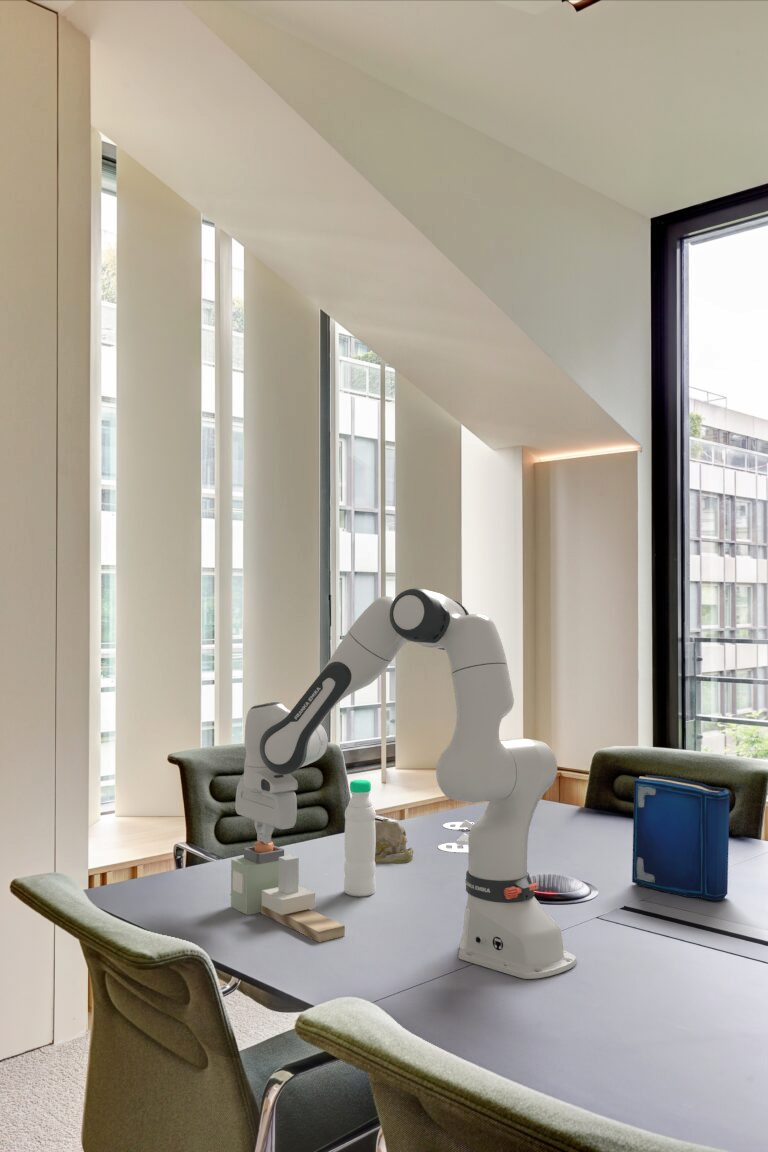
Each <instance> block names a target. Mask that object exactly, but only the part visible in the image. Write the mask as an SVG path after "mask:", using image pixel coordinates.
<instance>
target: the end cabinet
mask: <svg viewBox="0 0 768 1152" xmlns="http://www.w3.org/2000/svg"><path fill="white" fill-rule="evenodd" d="M288 855H290V854H289V853H286V852H285V848H282V847H280V846H277V845H274V844H273V851H271V852H265V853H257V852H255V845H254V846H247V847H244V848H243V857H237V858H231V859H230V861H231V862H230V870H231V871H230V907H231V908H233V909H235V910H236V911H239V912H241V913H243V914H245V915H247V916H249V915H254V914H257V913H261V903H262V890H266V889H271V888H276V887H278V875H279V857H282V856H288Z"/></svg>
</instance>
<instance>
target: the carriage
mask: <svg viewBox="0 0 768 1152" xmlns="http://www.w3.org/2000/svg"><path fill="white" fill-rule="evenodd" d="M299 863H300V861H299V857H298V856H295V855H292V854H289V855H288V856H282V857H279V875H278V887H276V888H271V889H266V890H262V906H264V907H266V908H269V909H271V910H273V911H275V912H277V913H279V914H281V915H284V914H289V913H293V912H298V911H302V910H307V909H310V910H312V909H315V908H316V892H314V891H312V890H309V889H308V888H305V887H303V886H301V885H299V878H300V877H299V876H300V875H299V874H300V873H299V870H300V869H299V868H300V867H299Z"/></svg>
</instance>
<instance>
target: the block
mask: <svg viewBox="0 0 768 1152" xmlns="http://www.w3.org/2000/svg"><path fill="white" fill-rule="evenodd" d="M260 914H262V915H265V916H266V917H268V918H270V919H271V920H274V921H276V922H278V923H280V924H282V925H284V926H286V927H288V928H290V927H291V928H290V929H292V928H293V929H295V930H297V931H299V932H300V934H301V933H302V935H303V934H304V936H305V935H307V936H308V937H307V936H306V937H307V938H309V937H310V939H311V938H312V939H311V940H313V939H314V940H313V941H315V940H316V941H315V942H317V941H318V942H317V943H322V941H323V942H327V941H330V939H331V940H334V939H333V938H335V939H338V937H339V938H342V936H343V937H345V934H346V933H345V931H346V930H345V929H346V927H345V926H346V925H345V924H342V923H340V922H338V921H336V920H334V919H331V918H329V917H328V916H324V915H323V914H320V913H319V912H316V911H314V910H313V909H307V910H302V911H298V912H293V913H289V914H284V915H281V914H279V913H277V912H275V911H273V910H271V909H269V908H266V907H264V906H262V903H261V912H260ZM293 929H292V930H293ZM295 930H294V931H295ZM297 931H296V932H297ZM299 932H298V933H299Z"/></svg>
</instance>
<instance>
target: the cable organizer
mask: <svg viewBox="0 0 768 1152" xmlns="http://www.w3.org/2000/svg"><path fill="white" fill-rule="evenodd" d="M472 823H473V824H474V823H475V822H473V821H472V822H470V821H469V820H468V819H465V820H464V821H453V822H446V823H444V824H442V826H443V828H444V829H447V830H451V829H452V830H453V831H459V829H464V830H463V831H468V830H470V829H471V827H472V825H473V824H472ZM466 829H468V830H466ZM468 837H469V834H466V833H462V835H460V837H459V838H458V839H456V842H447V843H442V844H439V845H438V846H437V847H438V848H437V849H438V850H441V851H443V852H445V853H446V852H447V853H454V852H456V853H457V854H458V853H459V854H460V853H461V854H468ZM457 842H465V843H457ZM447 847H451V848H447ZM458 847H463V848H458Z"/></svg>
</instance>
